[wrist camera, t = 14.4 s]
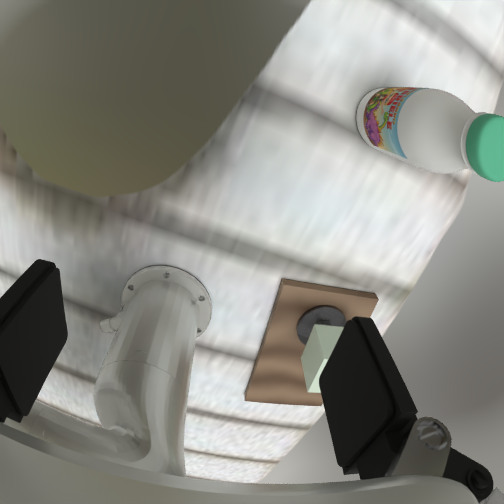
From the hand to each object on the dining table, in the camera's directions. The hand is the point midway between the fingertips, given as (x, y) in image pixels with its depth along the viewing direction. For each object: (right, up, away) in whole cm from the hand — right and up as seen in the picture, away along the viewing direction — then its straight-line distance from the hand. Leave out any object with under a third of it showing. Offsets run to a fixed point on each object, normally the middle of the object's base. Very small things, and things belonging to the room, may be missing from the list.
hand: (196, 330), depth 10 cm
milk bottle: (+17, +18, +24) cm, 34 cm away
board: (+10, -13, +38) cm, 42 cm away
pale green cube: (+12, -10, +31) cm, 34 cm away
